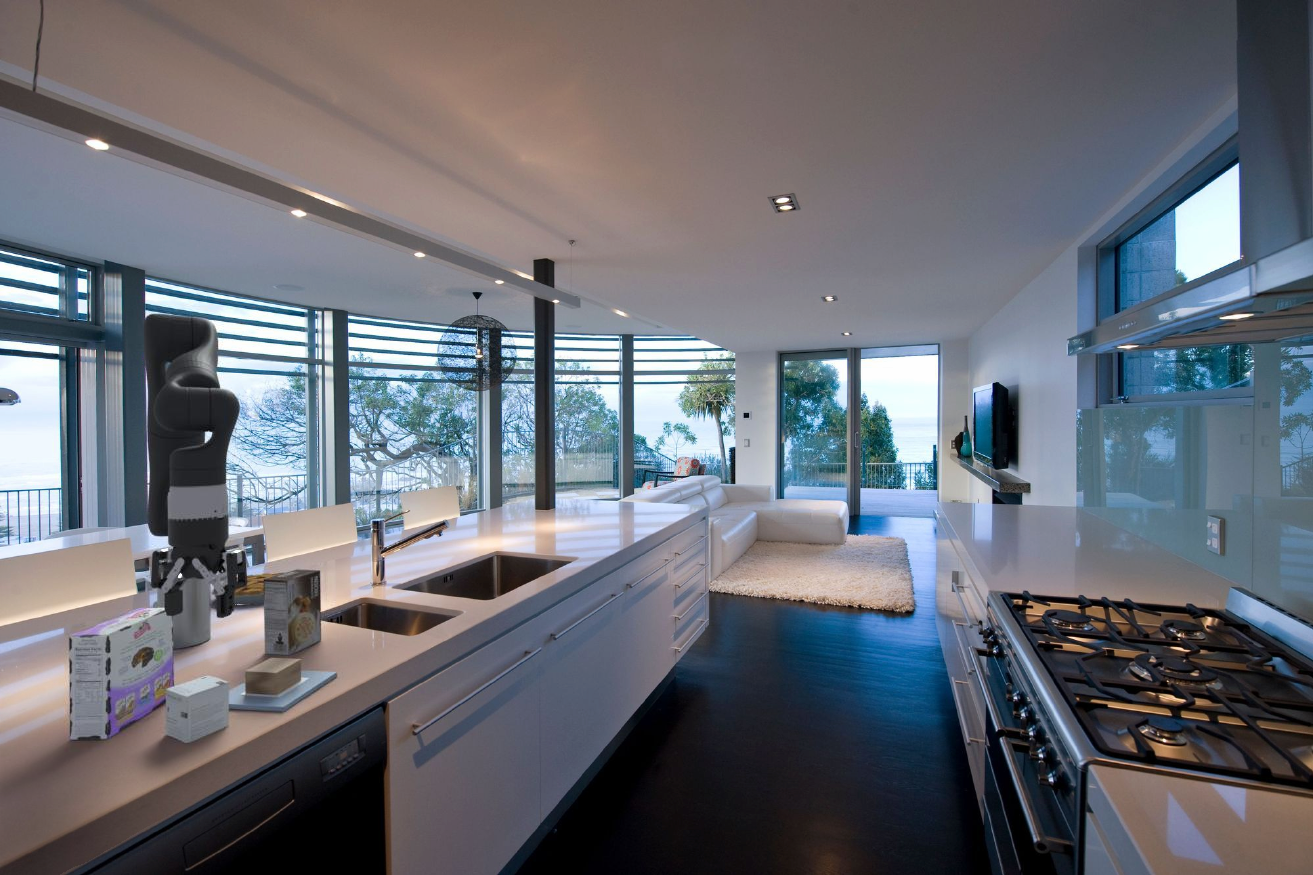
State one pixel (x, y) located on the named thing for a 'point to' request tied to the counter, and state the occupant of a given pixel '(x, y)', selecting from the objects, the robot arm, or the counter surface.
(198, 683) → the skincare box
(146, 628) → the candy box
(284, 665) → the walnut block
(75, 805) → the counter surface
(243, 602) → the pie
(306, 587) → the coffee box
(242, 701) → the board
